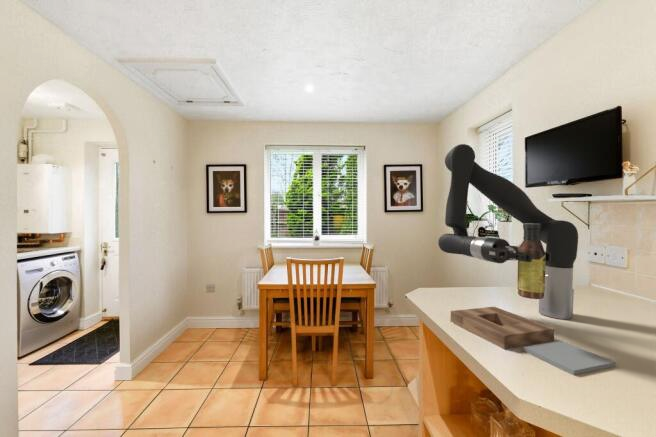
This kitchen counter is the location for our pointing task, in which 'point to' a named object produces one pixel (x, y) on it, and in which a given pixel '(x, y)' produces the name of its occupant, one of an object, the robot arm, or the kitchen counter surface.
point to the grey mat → (569, 357)
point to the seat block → (502, 327)
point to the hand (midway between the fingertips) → (540, 257)
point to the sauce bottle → (532, 264)
